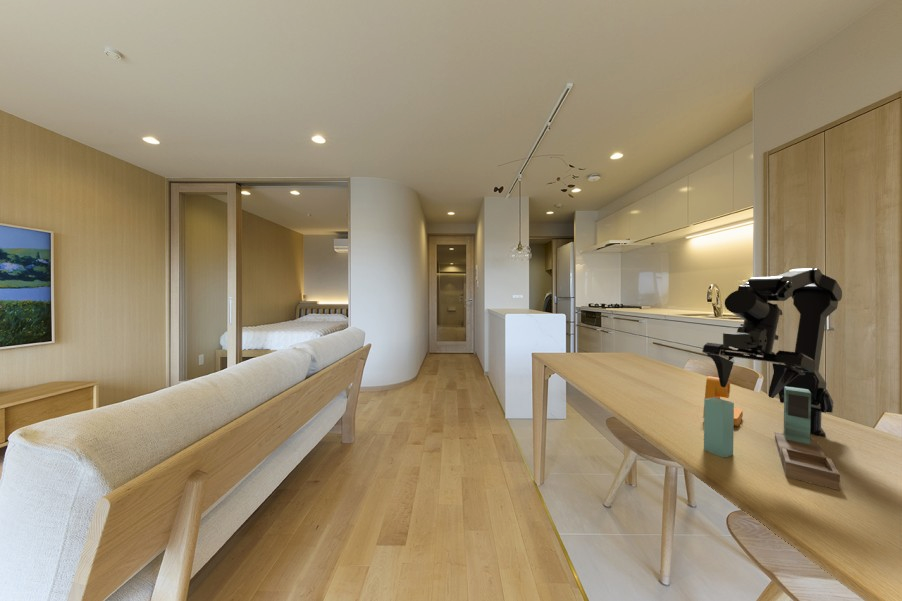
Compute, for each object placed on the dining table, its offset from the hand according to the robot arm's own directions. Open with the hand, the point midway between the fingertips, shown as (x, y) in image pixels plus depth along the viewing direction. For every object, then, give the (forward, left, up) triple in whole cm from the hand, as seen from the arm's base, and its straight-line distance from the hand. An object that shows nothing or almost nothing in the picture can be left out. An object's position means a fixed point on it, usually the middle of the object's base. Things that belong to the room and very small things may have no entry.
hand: (745, 391), depth 73 cm
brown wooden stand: (-4, +9, -14) cm, 17 cm away
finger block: (+3, -5, -14) cm, 15 cm away
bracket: (-22, -4, -14) cm, 26 cm away
